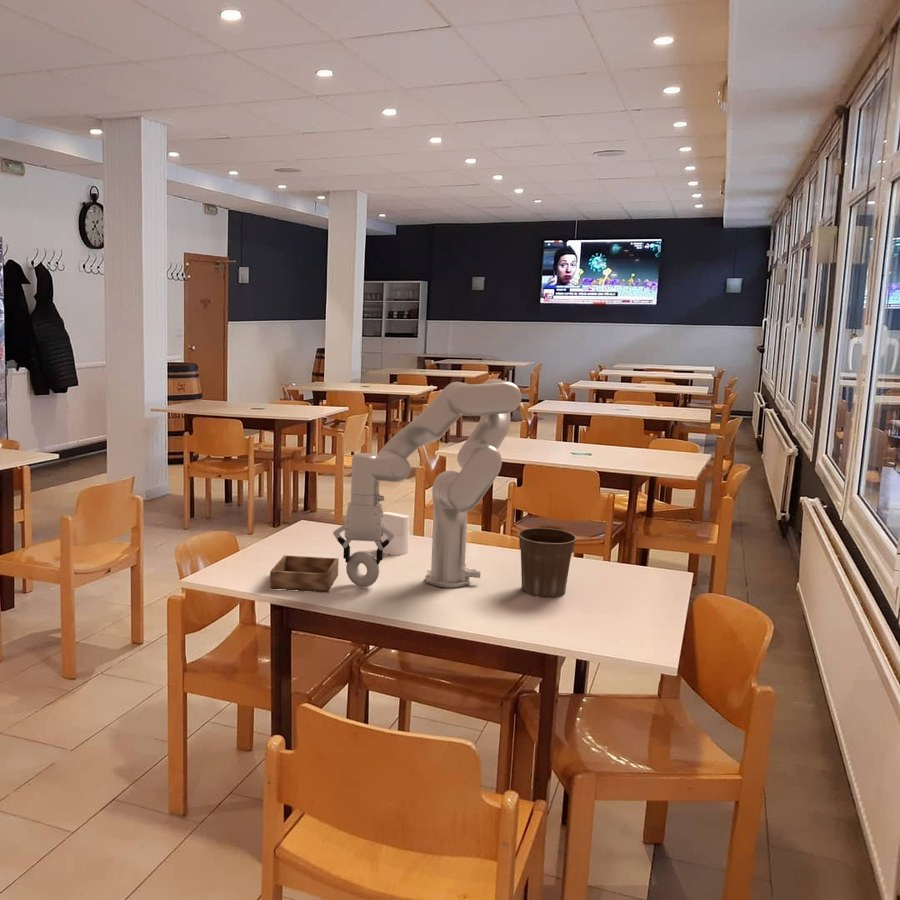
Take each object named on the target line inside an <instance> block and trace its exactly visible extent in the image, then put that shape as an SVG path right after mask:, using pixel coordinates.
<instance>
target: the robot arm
mask: <svg viewBox="0 0 900 900" xmlns="http://www.w3.org/2000/svg"><path fill="white" fill-rule="evenodd" d="M521 402H522V393H521V390H520V388H519V387H518V386H517V384H515V383H513V382H511V381H508V380H507V381H506V380H503V379H497V378H491V379H490V378H489V379H487V380H485V381H483V383H479V384H478V383H477V384H475V383H474V384H472V383H466V382H460V381H453V382H451V383H448V384H447V385H446V386H445V387H444V388H443V389H442V390H441V391H440V392H439V393H438V395H437V396H436V397H435V398H434V399H433V400H432V401H431V402H430V403H429V404H428V406H427V407H426V408H425V409H424V410H422V412H421V413H420V414H419V415H418V416H417V417H416V418H415V419H413V420H412V421H410V422H409V423H408V424H407V425H405V427H403V428H401V429H400V430H399V431H398V432H396V433H395V434H394V435H393V436H392V437H391V438H390V439H389V440H388V441H387V442H386V443H385V444H384V446H383V447H382V448H381V449H380V450H379V451H378V452H377V454H376V453H370V452H369V453H368V452H361V453H360V452H359V453H356V454H354V455H353V456H352V457H351V480H350V481H351V482H350V483H351V486H350V502H348V505H347V507H346V513H345V514H346V515H345V521H344V522H345V523H344V524H343V525H341V526H340V527H338V528H336V529H335V530H334V531H332V534H333V536H334V537H335V539H336V540H337V542H338V543H339V545H341V546H342V547H341V548H343V559H345V563H346V564H347V563H348V562H349V558H350V556H351V546H350V543H351V542H352V541H356V542H372V543H373V542H374V543H375V545H376V547H377V550H376V554H375V555H376V558H375V559H376V562H377V564H378V565H380V563H381V561H383V548H384V547H386V546H387V545H388V544H389V542H390V541H391V540H392V539H393V537H394V534H393V533H392V532H391V531H389V530H388V529H387V528H385V527H384V526H383V513H384V512H383V505H382V503H380V502H383V501H385V496H384V495H382V494H380V481H382V482H389V483H400V482H403V481H405V480H407V478H408V477H409V475H410V473H411V464H410V462H409V460H408V458H409V457H410V456H411V455H412V454H414V452H416V451H417V450H418V449H419V448H422V447H423V446H426V445H429V444H432V443H435V442H436V441H438V440H440V439H441V438H443V436H444V435H445V433H446V432H448V430H450V429H451V427H452V426H453V425H454V424H455V423H456V422H457V420H459V419H460V418H461V417H462V416H467V417H475V416H476V417H477V416H480V419H479V421H478V423H477V424H476V426H475V427H474V429H473V431H472V432H471V433H470V435H469V436H468V438H467V439H466V440H465V442H464V444H463V445H461V448H460V449H459V450H458V453H457V458H456V460H457V463H458V466H459V467H460V468H461V470H460V471H459V472H457V471H455V470H446V471H445V470H444V471H442V472H441V473H439V474H438V475H437V476H436V477H435V479H434V480H433V484H432V489H431V490H432V491H431V492H432V496H431V497H432V507H433V510H432V511H433V522H432V525H433V526H432V541H431V542H432V543H431V544H432V545H431V560H430V561H431V563H430V572H429V573H427V574H425V576H424V578H425V579H424V580H425V582H426V584H429V585H431V586H434V587H439V588H450V589H451V588H460V587H465V586H466V585H468V584H470V581H471V580H470V578H474V579H475V578H478V579H480V578H481V570H477V569H476V568H474V569H473V568H472V569H471V568H470V569H469V568H468V567H467V564H466V552H467V551H466V548H467V531H468V530H467V529H468V512H469V511H472V510H473V509H474V508H475V507H476V506H477V505H478V504H479V503H480V501H481V500H482V499H483V497H484V496H485V494H486V493H487V492H488V490H489V489H490V488H491V486H492V485H493V483H494V482H495V480H496V479H497V477H498V475H499V473H500V471H501V469H502V464H503V461H502V455H501V453H500V451H499V448H500V446H501V445H502V443H503V441H504V440H505V438H506V436H507V434H508V433H509V430H510V427H511V418H512V417H511V413H512V412H513V411H515V410H516V409H518V408H519V406H520V404H521ZM343 532H344V537H342V535H341V533H343ZM383 533H384V534H386V535H387V536H388V537H387V539H386V540H385V541H384V542H382V540H381V537H382V536H383ZM344 538H345V539H344Z"/></svg>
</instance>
